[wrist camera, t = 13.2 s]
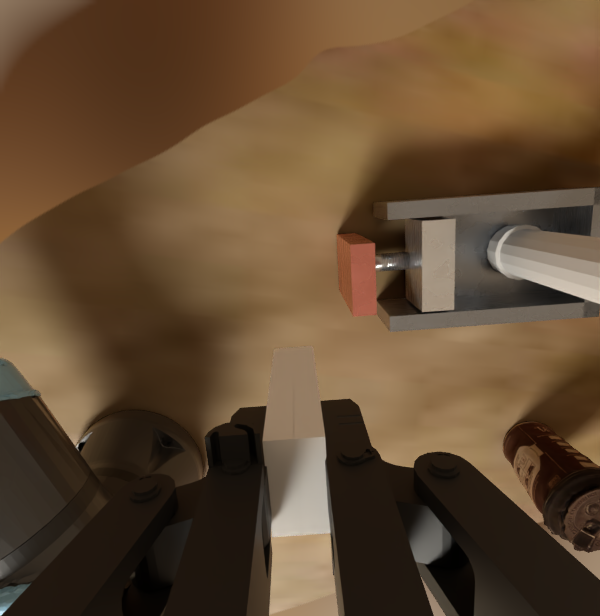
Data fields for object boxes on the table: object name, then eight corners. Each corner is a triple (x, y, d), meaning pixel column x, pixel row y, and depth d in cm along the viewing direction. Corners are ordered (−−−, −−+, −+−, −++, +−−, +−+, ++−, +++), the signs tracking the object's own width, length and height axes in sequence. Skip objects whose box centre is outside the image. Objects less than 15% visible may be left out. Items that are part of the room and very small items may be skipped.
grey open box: (376, 313, 48) (390, 331, 41) (372, 202, 45) (387, 202, 38) (555, 300, 48) (598, 316, 41) (563, 188, 45) (611, 186, 39)
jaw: (339, 300, 47) (353, 330, 37) (335, 222, 45) (349, 229, 35) (430, 293, 47) (471, 321, 37) (431, 215, 45) (473, 220, 35)
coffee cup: (500, 483, 54) (563, 570, 41) (483, 427, 52) (544, 500, 39) (568, 460, 53) (654, 542, 41) (554, 403, 51) (639, 469, 39)
